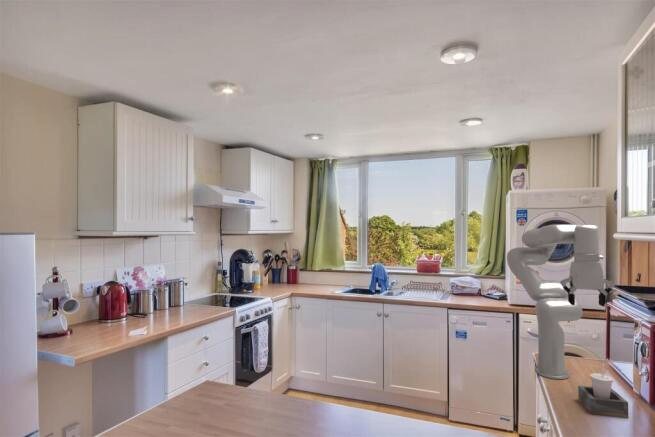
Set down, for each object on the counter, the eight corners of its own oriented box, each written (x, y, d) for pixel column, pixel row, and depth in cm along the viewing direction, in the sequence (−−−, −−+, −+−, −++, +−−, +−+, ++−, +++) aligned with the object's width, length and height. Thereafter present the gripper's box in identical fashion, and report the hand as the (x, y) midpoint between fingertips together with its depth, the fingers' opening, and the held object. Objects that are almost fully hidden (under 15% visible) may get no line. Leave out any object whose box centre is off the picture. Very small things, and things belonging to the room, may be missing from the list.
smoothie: (617, 410, 126) (616, 368, 126) (596, 408, 127) (595, 366, 127) (607, 401, 132) (606, 361, 132) (586, 400, 133) (586, 360, 133)
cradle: (578, 399, 136) (578, 385, 136) (612, 403, 133) (612, 388, 133) (591, 414, 125) (591, 398, 125) (628, 418, 123) (628, 402, 123)
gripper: (608, 258, 141) (608, 304, 141) (556, 257, 145) (557, 301, 145) (618, 260, 134) (619, 308, 134) (563, 258, 138) (564, 306, 138)
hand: (586, 305), depth 139 cm, fingers open, 9 cm apart
